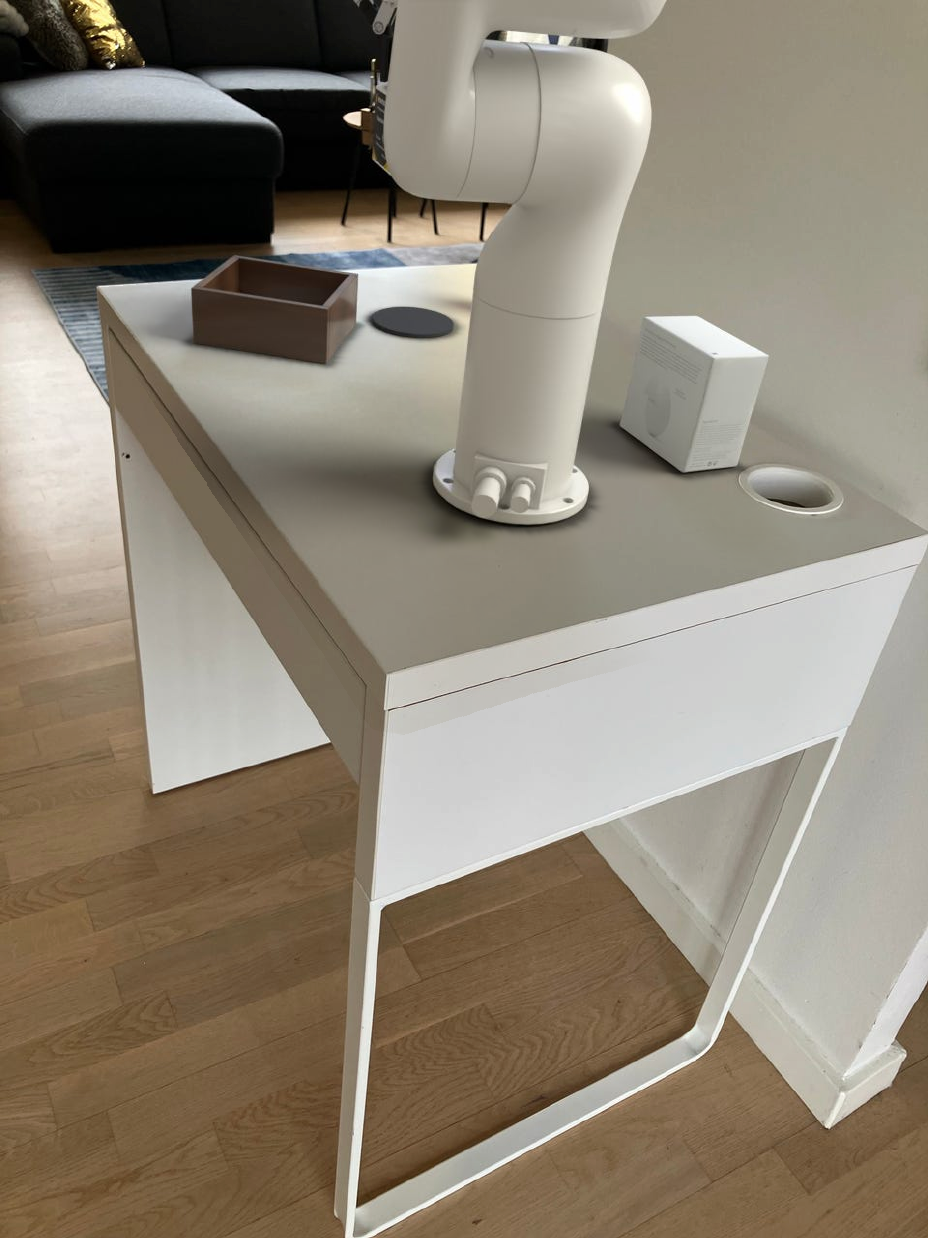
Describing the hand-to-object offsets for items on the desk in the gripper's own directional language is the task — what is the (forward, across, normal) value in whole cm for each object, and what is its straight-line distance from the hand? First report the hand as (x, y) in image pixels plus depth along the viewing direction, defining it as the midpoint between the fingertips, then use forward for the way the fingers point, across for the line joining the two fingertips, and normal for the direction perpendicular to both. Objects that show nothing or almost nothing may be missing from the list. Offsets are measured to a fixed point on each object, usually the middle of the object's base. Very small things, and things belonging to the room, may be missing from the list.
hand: (420, 83), depth 100 cm
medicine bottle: (+8, 0, 0) cm, 8 cm away
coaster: (+24, +1, +1) cm, 24 cm away
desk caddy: (+24, -12, -9) cm, 28 cm away
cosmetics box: (+24, +30, -22) cm, 44 cm away
